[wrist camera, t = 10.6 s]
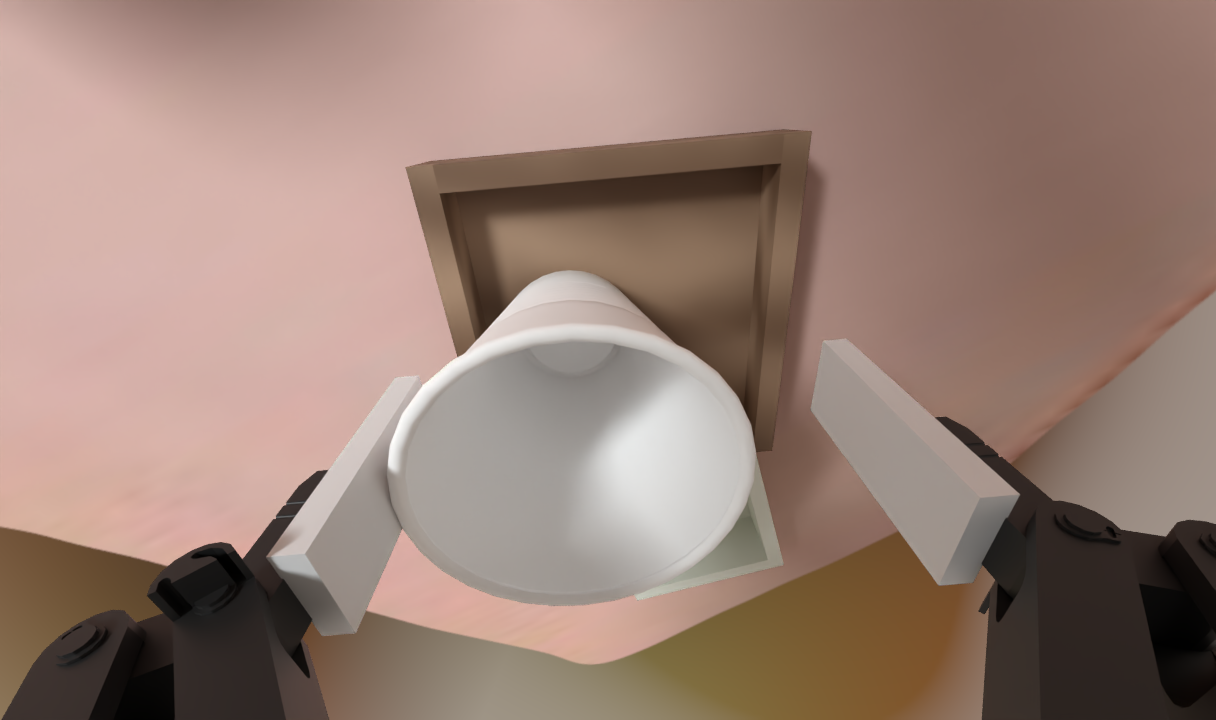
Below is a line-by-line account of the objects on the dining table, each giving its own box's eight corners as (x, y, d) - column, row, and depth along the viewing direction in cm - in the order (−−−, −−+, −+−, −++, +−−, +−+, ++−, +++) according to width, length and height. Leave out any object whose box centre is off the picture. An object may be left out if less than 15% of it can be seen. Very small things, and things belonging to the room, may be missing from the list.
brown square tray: (430, 161, 19) (405, 167, 16) (783, 129, 19) (811, 131, 16) (499, 439, 26) (489, 472, 24) (755, 419, 26) (771, 450, 23)
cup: (656, 202, 19) (750, 282, 10) (682, 391, 24) (763, 571, 14) (434, 252, 19) (307, 380, 10) (503, 430, 24) (464, 634, 14)
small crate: (586, 450, 27) (584, 500, 23) (733, 406, 25) (755, 452, 22) (632, 545, 31) (637, 600, 27) (761, 511, 29) (783, 564, 26)
